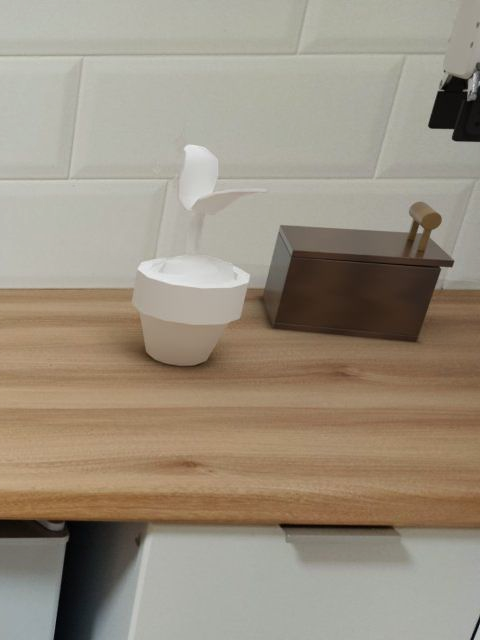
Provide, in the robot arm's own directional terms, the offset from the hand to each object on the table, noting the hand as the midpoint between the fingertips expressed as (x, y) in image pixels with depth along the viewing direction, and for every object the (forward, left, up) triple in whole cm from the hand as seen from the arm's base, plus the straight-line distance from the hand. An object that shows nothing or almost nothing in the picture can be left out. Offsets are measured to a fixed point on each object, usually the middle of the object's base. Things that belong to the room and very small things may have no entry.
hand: (455, 134), depth 99 cm
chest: (+7, 0, -22) cm, 23 cm away
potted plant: (+26, +20, -22) cm, 39 cm away
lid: (+6, 0, -13) cm, 14 cm away
